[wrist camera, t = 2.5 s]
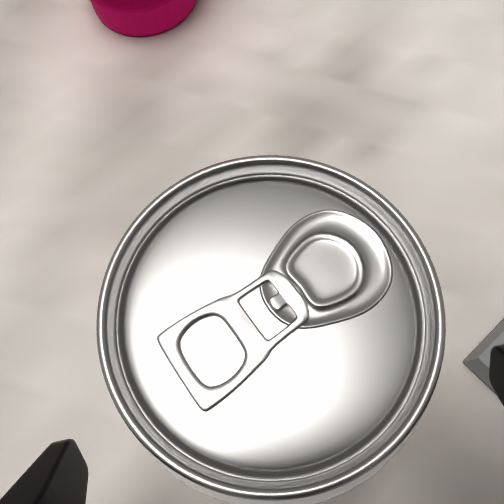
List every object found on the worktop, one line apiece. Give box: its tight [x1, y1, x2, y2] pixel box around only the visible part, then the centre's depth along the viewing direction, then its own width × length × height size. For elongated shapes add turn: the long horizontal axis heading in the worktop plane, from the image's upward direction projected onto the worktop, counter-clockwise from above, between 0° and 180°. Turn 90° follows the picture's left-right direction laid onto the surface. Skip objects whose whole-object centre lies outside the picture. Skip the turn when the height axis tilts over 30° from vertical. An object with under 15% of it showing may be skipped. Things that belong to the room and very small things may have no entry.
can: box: [97, 155, 446, 504], centre depth 13 cm, size 6×6×12 cm
